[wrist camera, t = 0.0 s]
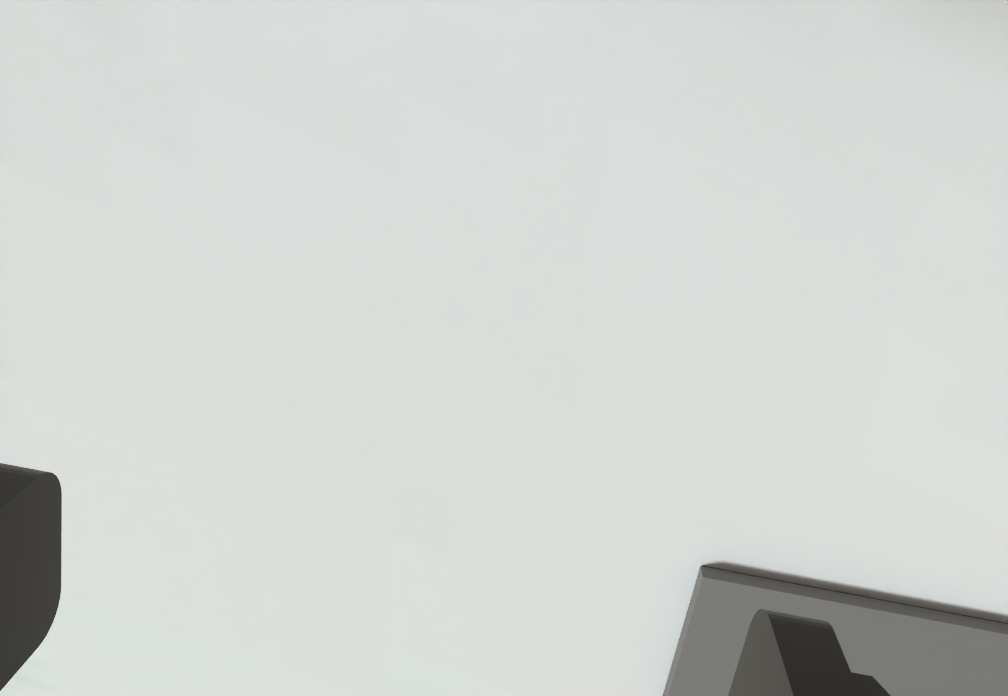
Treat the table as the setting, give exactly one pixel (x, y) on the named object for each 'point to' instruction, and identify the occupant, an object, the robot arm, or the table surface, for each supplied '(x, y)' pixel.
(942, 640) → the charcoal mat
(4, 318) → the table surface
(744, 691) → the robot arm
